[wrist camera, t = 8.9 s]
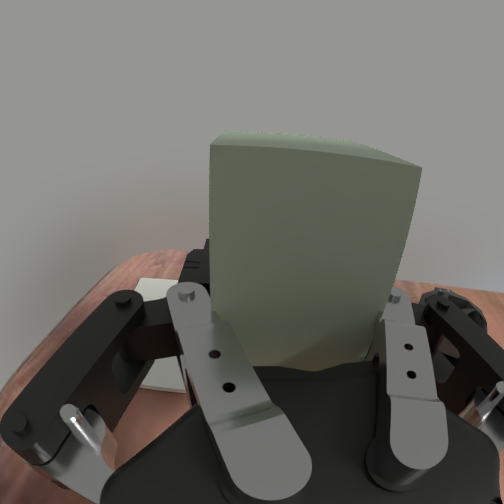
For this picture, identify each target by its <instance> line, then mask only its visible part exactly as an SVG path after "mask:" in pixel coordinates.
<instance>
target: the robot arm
mask: <svg viewBox="0 0 504 504" xmlns="http://www.w3.org/2000/svg"><path fill="white" fill-rule="evenodd" d="M445 337H446V338H447V339H448V340H449V341H450V342H451V343H452V344H453V345H454V347H455V348H456V349H457V350H458V351H459V354H460V359H459V362H458V364H457V365H456V367H454V366H453V365H452V364H451V363H450V362H449V361H448V359H447V358H446V357H445V356H444V355H443V354H442V353H441V352H440V351H439V350H438V349H439V347H440V345H441V343H442V341H443V340H444V338H445ZM174 356H176V359H177V363H178V366H179V370H180V373H181V377H182V380H183V383H184V387H185V390H186V394H187V398H188V402H189V406H190V409H189V410H188V411H187V412H186V413H185V414H184V415H183V416H181V417H180V418H179V419H178V420H177V421H176V422H175V423H173V424H172V425H171V426H170V427H169V428H168V429H166V430H165V431H164V432H163V433H162V434H161V435H159V436H158V437H157V438H156V439H155V440H153V441H152V442H151V443H150V444H148V445H147V446H146V447H145V448H144V449H142V450H141V451H140V452H139V453H137V454H136V455H135V456H134V457H132V458H131V459H130V460H128V461H127V462H126V463H125V464H123V465H122V466H121V467H119V468H118V469H117V470H115V466H114V461H115V457H116V454H117V449H118V446H117V441H116V439H115V437H114V436H113V434H112V432H113V430H114V429H115V427H116V425H117V423H118V422H119V420H120V418H121V417H122V415H123V413H124V412H125V410H126V408H127V407H128V405H129V403H130V402H131V400H132V398H133V397H134V395H135V393H136V392H137V390H138V388H139V387H140V385H141V384H142V382H143V380H144V379H145V377H146V375H147V374H148V372H149V370H150V369H151V367H152V366H153V364H154V362H155V359H162V358H168V357H174ZM438 398H439V399H438ZM0 433H1V436H2V438H3V440H4V441H5V443H6V444H7V445H8V446H9V447H10V448H12V449H13V450H14V451H15V452H16V453H17V454H18V455H19V456H20V457H21V458H22V460H23V461H25V462H26V463H27V464H28V465H29V466H31V467H32V468H33V469H34V470H36V471H37V472H38V473H40V474H41V475H42V476H44V477H45V478H47V479H49V480H51V481H52V482H53V483H55V484H56V485H58V486H59V487H61V488H64V489H71V490H73V491H74V492H76V493H77V494H79V495H81V496H82V497H84V498H86V499H87V500H89V501H91V502H93V503H94V504H503V503H502V500H501V495H500V485H499V471H500V459H499V454H498V453H499V452H500V451H501V450H502V449H503V448H504V350H503V349H502V348H501V347H500V346H499V345H498V344H497V343H496V342H495V341H494V340H493V339H492V338H491V337H490V336H489V335H488V334H487V333H486V332H485V331H484V330H483V329H482V328H481V327H480V326H479V325H478V324H476V323H475V322H474V321H473V320H472V319H471V318H470V317H469V316H468V315H467V314H466V313H464V312H463V311H462V310H461V309H460V308H459V307H458V306H457V305H455V304H454V303H453V302H452V301H451V300H449V299H448V298H446V297H443V296H439V295H433V296H430V297H429V298H428V301H427V303H426V305H421V304H416V303H411V300H410V297H409V295H408V294H407V293H406V292H404V291H403V290H401V289H399V288H397V287H393V286H392V289H391V292H390V295H389V298H388V301H387V304H386V307H385V310H384V311H378V313H377V316H376V319H375V322H374V338H373V341H372V343H371V346H370V348H369V350H368V353H367V355H366V357H360V359H359V362H353V363H343V364H340V365H337V366H333V367H330V368H326V369H323V370H319V371H306V370H299V369H293V368H287V367H282V366H252V365H251V363H250V361H249V359H248V358H247V356H246V354H245V352H244V350H243V348H242V346H241V344H240V342H239V341H238V339H237V337H236V335H235V333H234V331H233V329H232V327H231V325H230V323H229V322H228V321H222V322H221V320H220V318H219V316H218V314H217V312H216V311H211V299H210V255H209V239H206V243H205V246H204V249H194V250H193V251H191V252H190V253H189V254H187V257H186V260H185V263H184V266H183V269H182V271H181V274H180V277H179V280H178V283H177V284H175V285H173V286H171V287H170V288H169V289H168V290H167V293H166V297H164V298H161V299H157V300H151V301H144V300H143V297H142V295H141V294H140V293H139V292H137V291H133V290H121V291H117V292H115V293H113V294H111V295H109V296H108V297H107V298H106V299H105V300H104V301H103V302H102V303H101V304H100V305H99V306H98V307H97V308H96V309H95V310H94V311H93V312H92V313H91V315H90V316H89V317H88V318H87V319H86V320H85V321H84V322H83V323H82V324H81V325H80V326H79V327H78V328H77V329H76V330H75V331H74V332H73V334H72V335H71V336H70V337H69V338H68V339H67V340H66V341H65V342H64V343H63V344H62V346H61V347H60V348H59V349H58V350H57V351H56V352H55V353H54V354H53V356H52V357H51V358H50V359H49V360H48V361H47V362H46V364H45V365H44V366H43V367H42V368H41V369H40V370H39V372H38V373H37V374H36V375H35V376H34V378H33V379H32V380H31V381H30V382H29V383H28V385H27V386H26V387H25V388H24V389H23V391H22V392H21V393H20V394H19V396H18V397H17V398H16V399H15V401H14V402H13V403H12V404H11V406H10V407H9V408H8V409H7V411H6V412H5V413H4V415H3V417H2V419H1V422H0Z"/></svg>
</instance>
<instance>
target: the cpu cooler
mask: <svg viewBox="0 0 504 504" xmlns="http://www.w3.org/2000/svg"><path fill="white" fill-rule="evenodd" d="M433 295H439V296H443V297H446V298H448V299H449V300H451V301H452V302H453V303H454V304H455V305H457V306H458V307H459V308H460V309H461V310H462V311H463V312H464V313H466V314H467V315H468V316H469V317H470V318H471V319H472V320H473V321H474V322H475V323H476V324H478V325H479V326H480V327H481V328H482V329H483V330H484V331H485V332H486V333H487V322H486V319H485V317H484V315H483V313H482V311H481V310H480V309H479V308H478V307H477V306H475V305H474V304H473V303H471V302H470V301H469V300H468V299H466V298H465V297H462V296H460V295H458V294H456V293H454V292H452V291H451V290H449V289H443V288H436V287H435V289H434V290H433V291H430V292H427V293H424V294H422V296H421V299H420V302H419V304H421V305H426V303H427V301H428V298H429V297H430V296H433ZM438 350H439V351H440V352H441V353H442V354H443V355H444V356H445V357H446V358H447V359H448V361H449V362H450V363H451V364H452V365H453V366H454V367H456V365H457V364H458V362H459V359H460V354H459V351H458V350H457V349H456V348H455V347H454V345H453V344H452V343H451V342H450V341H449V340H448V339H447V338H446V337H445V338H444V340H443V341H442V343H441V345H440V347H439V349H438Z"/></svg>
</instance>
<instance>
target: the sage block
mask: <svg viewBox="0 0 504 504" xmlns="http://www.w3.org/2000/svg"><path fill="white" fill-rule="evenodd" d="M421 172H422V168H421V167H419V166H417V165H415V164H412V163H410V162H407V161H405V160H402V159H400V158H397V157H395V156H392V155H389V154H387V153H384V152H381V151H379V150H375V149H373V148H370V147H367V146H365V145H362V144H359V143H356V142H351V141H344V140H338V139H330V138H322V137H313V136H304V135H294V134H282V133H269V132H251V131H224V132H223V133H222V134H221V135H220V136H219V137H218V138H217V139H216V140H215V141H214V142H212V143H211V145H210V175H209V255H210V299H211V311H216V312H217V314H218V316H219V318H220V320H221V322H222V321H228V322H229V323H230V325H231V327H232V329H233V331H234V333H235V335H236V337H237V339H238V341H239V342H240V344H241V346H242V348H243V350H244V352H245V354H246V356H247V358H248V359H249V361H250V363H251V365H252V366H282V367H287V368H293V369H299V370H306V371H319V370H323V369H326V368H330V367H333V366H337V365H340V364H343V363H353V362H359V359H360V357H366V355H367V353H368V350H369V348H370V346H371V343H372V341H373V338H374V322H375V319H376V316H377V313H378V311H384V310H385V307H386V304H387V301H388V298H389V295H390V292H391V289H392V286H393V283H394V280H395V277H396V274H397V271H398V268H399V264H400V261H401V257H402V254H403V250H404V247H405V243H406V239H407V236H408V232H409V228H410V224H411V220H412V216H413V211H414V207H415V202H416V198H417V193H418V188H419V183H420V177H421Z"/></svg>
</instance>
